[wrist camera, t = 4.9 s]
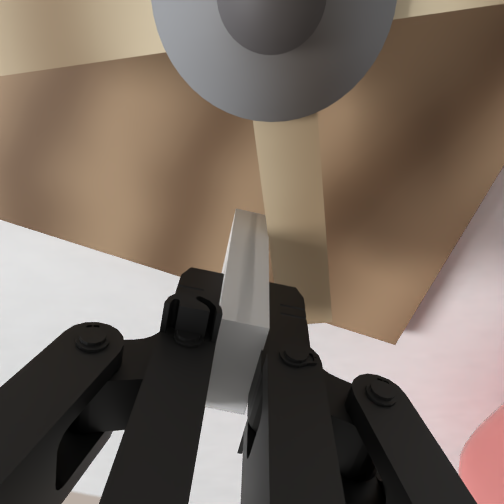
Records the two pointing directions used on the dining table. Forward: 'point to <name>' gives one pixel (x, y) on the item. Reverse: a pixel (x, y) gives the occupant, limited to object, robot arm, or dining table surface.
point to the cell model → (485, 460)
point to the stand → (247, 167)
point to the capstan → (238, 84)
